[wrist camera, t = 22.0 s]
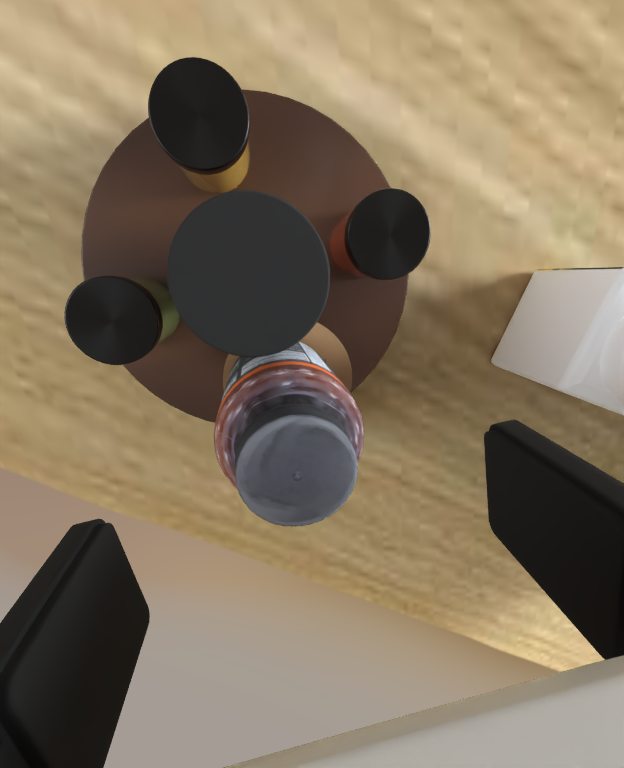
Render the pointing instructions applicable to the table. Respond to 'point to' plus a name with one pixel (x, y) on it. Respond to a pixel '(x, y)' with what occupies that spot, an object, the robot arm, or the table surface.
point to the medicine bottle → (570, 334)
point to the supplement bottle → (289, 436)
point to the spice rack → (239, 242)
